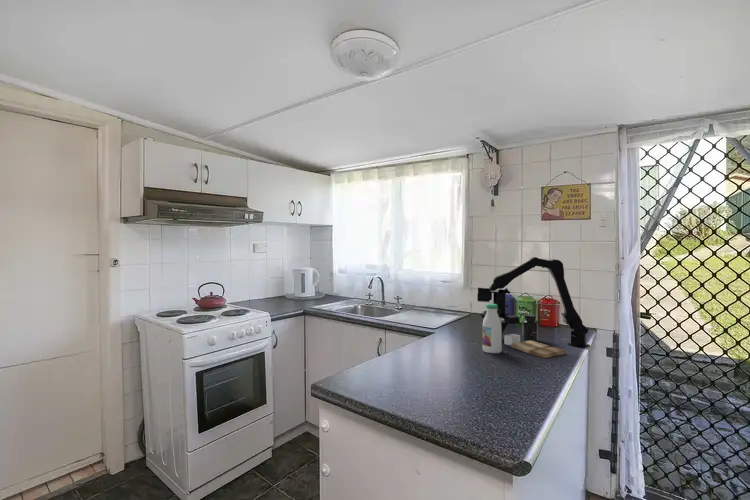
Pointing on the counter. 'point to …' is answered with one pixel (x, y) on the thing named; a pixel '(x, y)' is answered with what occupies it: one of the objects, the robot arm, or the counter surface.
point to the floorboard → (548, 352)
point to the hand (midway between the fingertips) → (499, 335)
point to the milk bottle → (492, 330)
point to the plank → (528, 346)
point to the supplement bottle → (530, 328)
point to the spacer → (511, 339)
